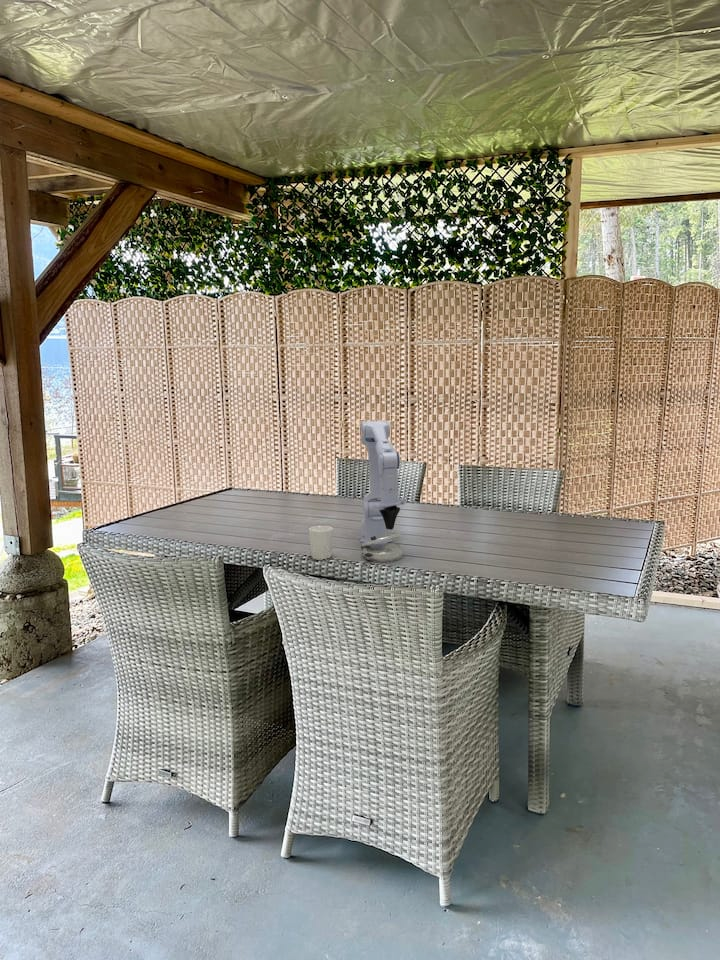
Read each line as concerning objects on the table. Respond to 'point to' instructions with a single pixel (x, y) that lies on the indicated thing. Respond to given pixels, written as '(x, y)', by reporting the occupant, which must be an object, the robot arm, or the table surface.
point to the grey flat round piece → (382, 552)
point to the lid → (380, 539)
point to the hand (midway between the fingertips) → (389, 528)
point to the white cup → (321, 542)
